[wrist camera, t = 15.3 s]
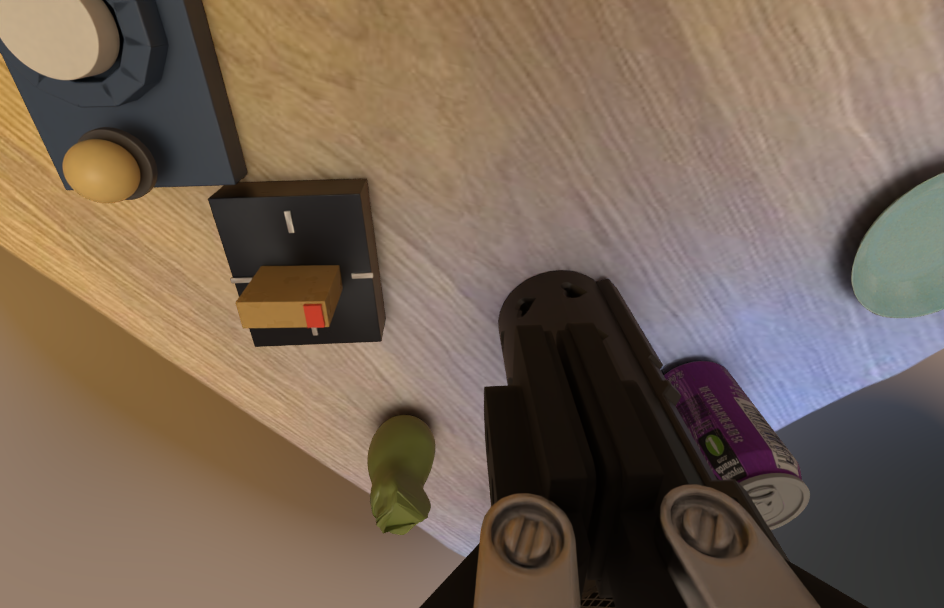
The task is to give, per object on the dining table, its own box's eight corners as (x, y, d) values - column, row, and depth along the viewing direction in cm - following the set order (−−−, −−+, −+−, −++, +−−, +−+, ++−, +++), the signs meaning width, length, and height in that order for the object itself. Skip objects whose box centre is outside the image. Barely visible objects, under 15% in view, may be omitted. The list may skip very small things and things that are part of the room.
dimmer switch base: (225, 182, 31) (204, 199, 28) (368, 178, 31) (361, 194, 29) (266, 323, 37) (252, 348, 34) (387, 318, 37) (382, 343, 35)
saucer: (803, 241, 35) (824, 255, 34) (973, 115, 31) (1008, 123, 29) (870, 327, 40) (891, 344, 38) (1025, 228, 36) (1058, 241, 34)
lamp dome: (68, 127, 25) (23, 142, 23) (143, 125, 25) (106, 140, 23) (99, 197, 27) (61, 219, 25) (168, 195, 27) (137, 216, 25)
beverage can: (641, 368, 41) (706, 488, 31) (726, 345, 40) (821, 461, 30) (651, 424, 45) (711, 547, 35) (728, 404, 44) (814, 525, 34)
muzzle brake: (575, 234, 34) (469, 319, 38) (868, 758, 11) (510, 858, 14) (647, 314, 38) (545, 384, 42) (976, 824, 15) (676, 890, 18)
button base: (-18, -60, 24) (-93, -70, 21) (185, -63, 24) (143, -74, 21) (88, 179, 31) (44, 201, 27) (248, 174, 31) (224, 195, 28)
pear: (362, 421, 43) (341, 524, 34) (407, 392, 41) (397, 493, 33) (404, 454, 45) (395, 557, 37) (448, 427, 44) (448, 529, 35)
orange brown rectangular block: (266, 289, 32) (241, 331, 28) (260, 265, 31) (233, 304, 27) (343, 288, 32) (328, 329, 28) (339, 264, 31) (323, 303, 27)
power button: (-2, -30, 22) (-35, -32, 20) (97, -32, 22) (72, -34, 21) (45, 76, 24) (19, 81, 23) (134, 74, 24) (114, 79, 23)
